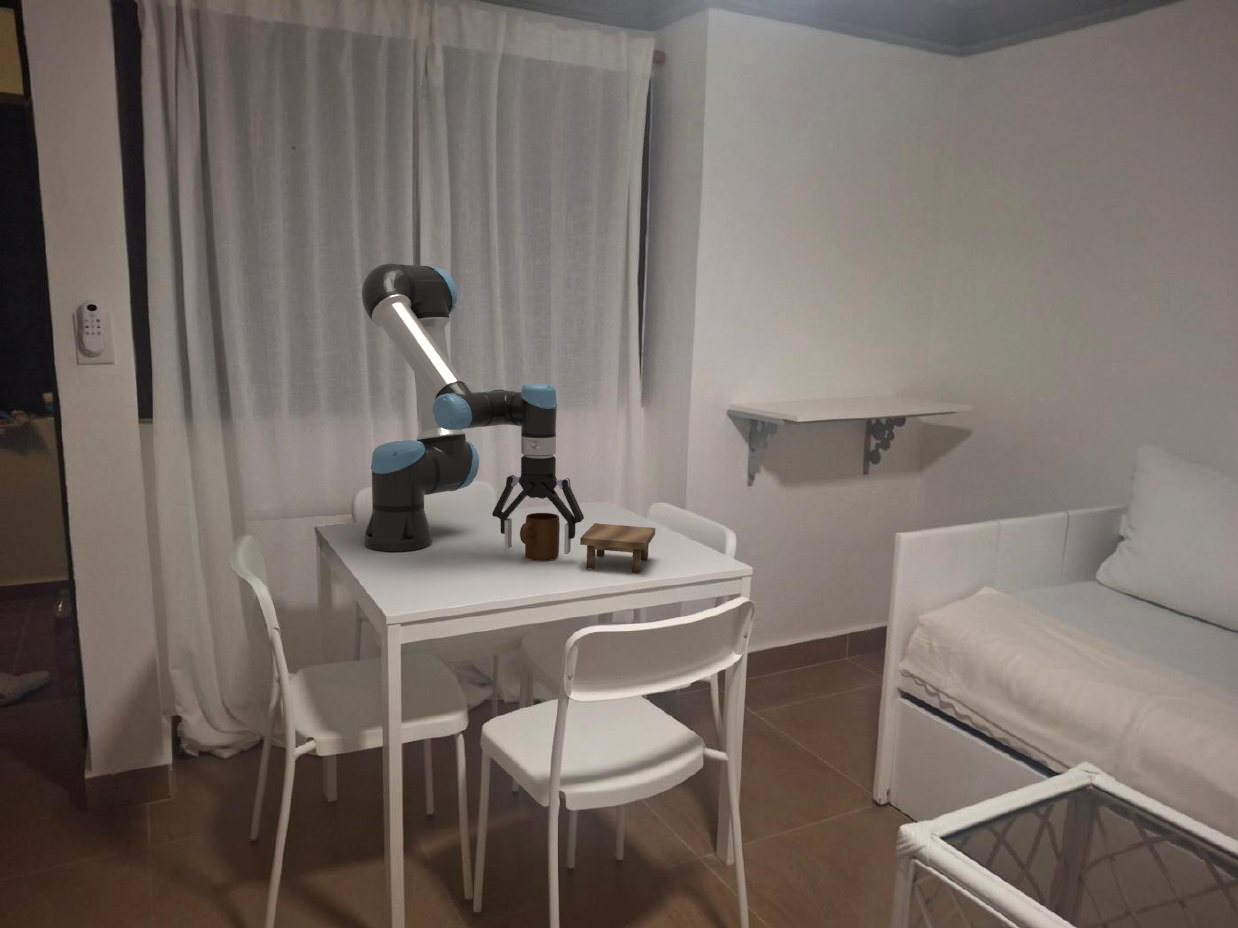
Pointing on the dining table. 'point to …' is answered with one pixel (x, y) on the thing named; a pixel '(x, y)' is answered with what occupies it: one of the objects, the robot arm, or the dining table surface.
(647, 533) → the stool
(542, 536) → the mug
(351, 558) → the dining table surface
